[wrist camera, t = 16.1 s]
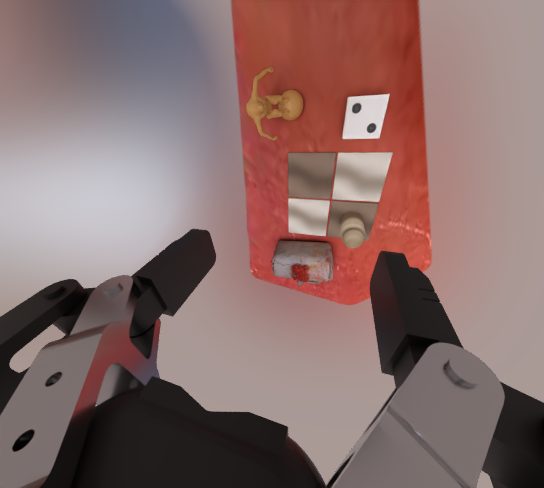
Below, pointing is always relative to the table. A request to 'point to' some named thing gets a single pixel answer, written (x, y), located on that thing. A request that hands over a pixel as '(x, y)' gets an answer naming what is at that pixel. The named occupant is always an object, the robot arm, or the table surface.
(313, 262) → the food item
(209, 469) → the robot arm
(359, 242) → the pawn
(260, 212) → the table surface
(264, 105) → the figurine
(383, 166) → the game mat
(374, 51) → the table surface
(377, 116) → the die
